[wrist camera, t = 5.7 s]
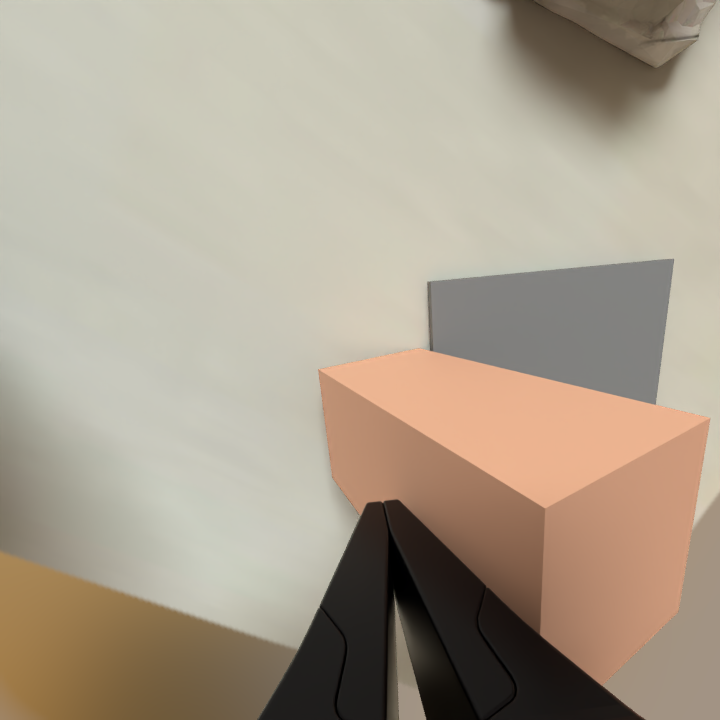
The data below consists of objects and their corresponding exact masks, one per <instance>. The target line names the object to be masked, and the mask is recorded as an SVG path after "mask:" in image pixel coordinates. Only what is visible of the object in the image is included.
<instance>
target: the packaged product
mask: <svg viewBox="0 0 720 720" xmlns="http://www.w3.org/2000/svg"><path fill="white" fill-rule="evenodd" d="M533 1H534V2H536V3H538V4H540V5H541V6H543V7H545V8H547V9H548V10H550V11H552V12H554V13H556V14H558V15H560V16H562V17H564V18H566V19H568V20H570V21H573V22H575V23H576V24H578V25H580V26H581V27H583V28H585V29H586V30H588V31H589V32H591V33H593V34H594V35H596V36H597V37H599V38H601V39H603V40H605V41H607V42H608V43H610V44H612V45H614V46H616V47H618V48H619V49H621V50H623V51H625V52H627V53H629V54H630V55H632V56H634V57H636V58H638V59H640V60H642V61H643V62H645V63H647V64H649V65H651V66H653V67H654V68H658V67H660V66H662V65H663V64H664V63H666V62H667V61H669V60H670V59H672V58H673V57H674V56H676V55H677V54H679V53H680V52H682V51H683V50H684V49H686V48H687V47H689V46H690V45H691V44H693V43H694V42H696V41H697V40H698V37H699V31H700V26H701V22H702V21H703V19H704V18H705V16H706V15H707V14H708V12H709V11H710V9H711V8H712V7H713V5H714V4H715V2H716V0H533Z"/></svg>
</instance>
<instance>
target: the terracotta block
mask: <svg viewBox="0 0 720 720" xmlns="http://www.w3.org/2000/svg"><path fill="white" fill-rule="evenodd" d="M318 371H319V379H320V387H321V394H322V402H323V410H324V417H325V425H326V432H327V440H328V448H329V455H330V463H331V471H332V478H333V479H334V480H335V482H336V483H337V485H338V486H339V487H340V489H341V490H342V491H343V493H344V494H345V495H346V497H347V498H348V499H349V501H350V502H351V503H352V505H353V506H354V507H355V509H356V510H357V511H358V513H359V514H360V515H361V514H362V512H363V510H364V507H365V505H366V504H367V503H368V502H376V501H381V502H382V503H383V502H384V501H385V500H393V499H398V500H400V501H401V502H402V503H403V504H404V505H405V506H406V507H407V508H408V509H409V510H410V511H411V512H412V513H413V514H414V515H415V516H416V517H417V518H418V519H419V520H420V521H421V522H422V523H423V524H424V525H425V526H426V527H427V528H428V529H429V530H430V531H431V532H432V533H433V534H434V535H435V536H436V537H437V538H438V539H439V540H440V541H441V542H443V543H444V544H445V545H446V546H447V547H448V548H449V549H450V550H451V551H452V552H453V553H454V554H455V555H456V556H457V557H458V558H459V559H460V560H461V561H462V562H463V563H464V564H465V565H466V566H467V567H468V568H469V569H470V570H471V571H472V572H473V573H474V574H475V575H476V576H477V577H478V578H479V579H480V580H481V581H482V582H483V583H484V584H485V585H486V588H490V589H491V590H492V591H493V592H494V593H495V594H496V595H497V596H498V597H499V598H500V599H501V600H502V601H503V602H504V603H505V604H506V605H507V606H508V607H509V608H510V609H511V610H512V611H514V612H515V613H516V614H517V615H518V616H519V617H520V618H521V619H522V620H523V621H524V622H526V623H527V624H528V625H529V626H530V627H531V628H533V629H534V630H535V631H536V632H537V633H538V634H540V635H541V636H542V637H543V638H544V639H545V640H547V641H548V642H549V643H550V644H551V645H553V646H554V647H555V648H556V649H558V650H559V651H560V652H561V653H562V654H564V655H565V656H566V657H567V658H569V659H570V660H571V661H572V662H573V663H575V664H576V665H577V666H578V667H580V668H581V669H582V670H583V671H585V672H586V673H587V674H588V675H589V676H591V677H592V678H593V679H594V680H596V681H597V682H598V683H599V684H600V685H603V684H604V683H605V682H606V681H607V680H608V679H610V678H611V676H613V675H614V674H615V673H616V672H617V671H618V670H619V669H620V668H621V667H622V666H623V665H624V664H625V663H626V662H627V661H628V660H629V659H630V658H631V657H632V656H633V655H634V654H635V653H636V652H637V651H638V650H639V649H641V648H642V647H643V645H645V644H646V643H647V642H648V641H649V640H650V639H651V638H652V637H653V636H654V635H655V634H656V633H657V632H658V631H659V630H660V629H661V628H662V627H663V626H664V625H665V624H666V623H667V622H668V621H669V620H670V619H672V617H674V615H676V614H677V612H678V610H679V604H680V598H681V592H682V586H683V580H684V574H685V568H686V562H687V556H688V549H689V544H690V538H691V532H692V526H693V520H694V514H695V508H696V502H697V496H698V490H699V484H700V478H701V471H702V465H703V459H704V453H705V447H706V441H707V435H708V429H709V423H710V418H708V417H704V416H700V415H695V414H691V413H687V412H683V411H679V410H675V409H670V408H666V407H662V406H658V405H654V404H650V403H645V402H641V401H637V400H633V399H629V398H625V397H620V396H616V395H612V394H608V393H604V392H600V391H595V390H591V389H587V388H583V387H579V386H574V385H570V384H566V383H562V382H558V381H554V380H549V379H545V378H541V377H537V376H533V375H529V374H524V373H520V372H516V371H512V370H508V369H504V368H499V367H495V366H491V365H487V364H483V363H478V362H474V361H470V360H466V359H462V358H458V357H453V356H449V355H445V354H441V353H437V352H433V351H428V350H424V349H420V348H418V349H413V350H409V351H404V352H399V353H394V354H390V355H385V356H380V357H375V358H370V359H366V360H361V361H356V362H351V363H347V364H342V365H337V366H332V367H328V368H323V369H318Z"/></svg>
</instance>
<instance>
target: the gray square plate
mask: <svg viewBox="0 0 720 720" xmlns="http://www.w3.org/2000/svg"><path fill="white" fill-rule="evenodd" d="M673 264H674V259H665V260H654V261H643V262H633V263H622V264H611V265H601V266H590V267H580V268H569V269H558V270H548V271H537V272H527V273H516V274H505V275H495V276H484V277H474V278H463V279H452V280H442V281H431V282H428V302H429V327H430V351H433V352H437V353H441V354H445V355H449V356H453V357H458V358H462V359H466V360H470V361H474V362H478V363H483V364H487V365H491V366H495V367H499V368H504V369H508V370H512V371H516V372H520V373H524V374H529V375H533V376H537V377H541V378H545V379H549V380H554V381H558V382H562V383H566V384H570V385H574V386H579V387H583V388H587V389H591V390H595V391H600V392H604V393H608V394H612V395H616V396H620V397H625V398H629V399H633V400H637V401H641V402H645V403H650V404H654V405H656V397H657V389H658V382H659V374H660V366H661V358H662V350H663V342H664V335H665V327H666V319H667V311H668V303H669V295H670V287H671V280H672V272H673Z"/></svg>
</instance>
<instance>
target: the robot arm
mask: <svg viewBox="0 0 720 720" xmlns="http://www.w3.org/2000/svg"><path fill="white" fill-rule="evenodd" d="M394 595H395V601H396V605H397V609H398V613H399V617H400V621H401V624H402V628H403V632H404V636H405V640H406V644H407V647H408V651H409V655H410V659H411V663H412V666H413V670H414V674H415V678H416V682H417V686H418V689H419V693H420V697H421V701H422V705H423V708H424V712H425V716H426V720H645V719H644V718H642V717H641V716H639V715H638V714H637V713H635V712H634V711H633V710H632V709H630V708H629V707H628V706H626V705H625V704H624V703H623V702H621V701H620V700H619V699H618V698H616V697H615V696H614V695H613V694H612V693H610V692H609V691H608V690H607V689H605V688H604V687H603V686H602V685H600V684H599V683H598V682H597V681H596V680H594V679H593V678H592V677H591V676H589V675H588V674H587V673H586V672H585V671H583V670H582V669H581V668H580V667H578V666H577V665H576V664H575V663H573V662H572V661H571V660H570V659H569V658H567V657H566V656H565V655H564V654H562V653H561V652H560V651H559V650H558V649H556V648H555V647H554V646H553V645H551V644H550V643H549V642H548V641H547V640H545V639H544V638H543V637H542V636H541V635H540V634H538V633H537V632H536V631H535V630H534V629H533V628H531V627H530V626H529V625H528V624H527V623H526V622H524V621H523V620H522V619H521V618H520V617H519V616H518V615H517V614H516V613H515V612H514V611H512V610H511V609H510V608H509V607H508V606H507V605H506V604H505V603H504V602H503V601H502V600H501V599H500V598H499V597H498V596H497V595H496V594H495V593H494V592H493V591H492V590H491V589H490V588H486V585H485V584H484V583H483V582H482V581H481V580H480V579H479V578H478V577H477V576H476V575H475V574H474V573H473V572H472V571H471V570H470V569H469V568H468V567H467V566H466V565H465V564H464V563H463V562H462V561H461V560H460V559H459V558H458V557H457V556H456V555H455V554H454V553H453V552H452V551H451V550H450V549H449V548H448V547H447V546H446V545H445V544H444V543H443V542H441V541H440V540H439V539H438V538H437V537H436V536H435V535H434V534H433V533H432V532H431V531H430V530H429V529H428V528H427V527H426V526H425V525H424V524H423V523H422V522H421V521H420V520H419V519H418V518H417V517H416V516H415V515H414V514H413V513H412V512H411V511H410V510H409V509H408V508H407V507H406V506H405V505H404V504H403V503H402V502H401V501H400V500H398V499H393V500H385V501H384V502H383V503H382V502H381V501H376V502H368V503H367V504H366V505H365V507H364V510H363V512H362V514H361V516H360V518H359V520H358V523H357V525H356V527H355V529H354V531H353V534H352V536H351V538H350V540H349V542H348V545H347V547H346V549H345V551H344V553H343V555H342V558H341V560H340V562H339V564H338V566H337V569H336V571H335V573H334V575H333V577H332V580H331V582H330V584H329V586H328V588H327V591H326V593H325V595H324V597H323V599H322V601H321V604H320V608H319V609H318V610H317V612H316V614H315V616H314V619H313V621H312V623H311V625H310V627H309V629H308V631H307V633H306V635H305V637H304V639H303V641H302V643H301V645H300V647H299V649H298V651H297V653H296V655H295V657H294V658H293V660H292V662H291V664H290V666H289V667H288V669H287V671H286V672H285V674H284V676H283V678H282V679H281V681H280V683H279V684H278V686H277V688H276V689H275V691H274V693H273V694H272V696H271V698H270V699H269V701H268V703H267V704H266V706H265V708H264V709H263V711H262V713H261V714H260V716H259V718H258V719H257V720H399V714H398V712H399V710H398V681H397V652H396V623H395V601H394Z"/></svg>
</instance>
